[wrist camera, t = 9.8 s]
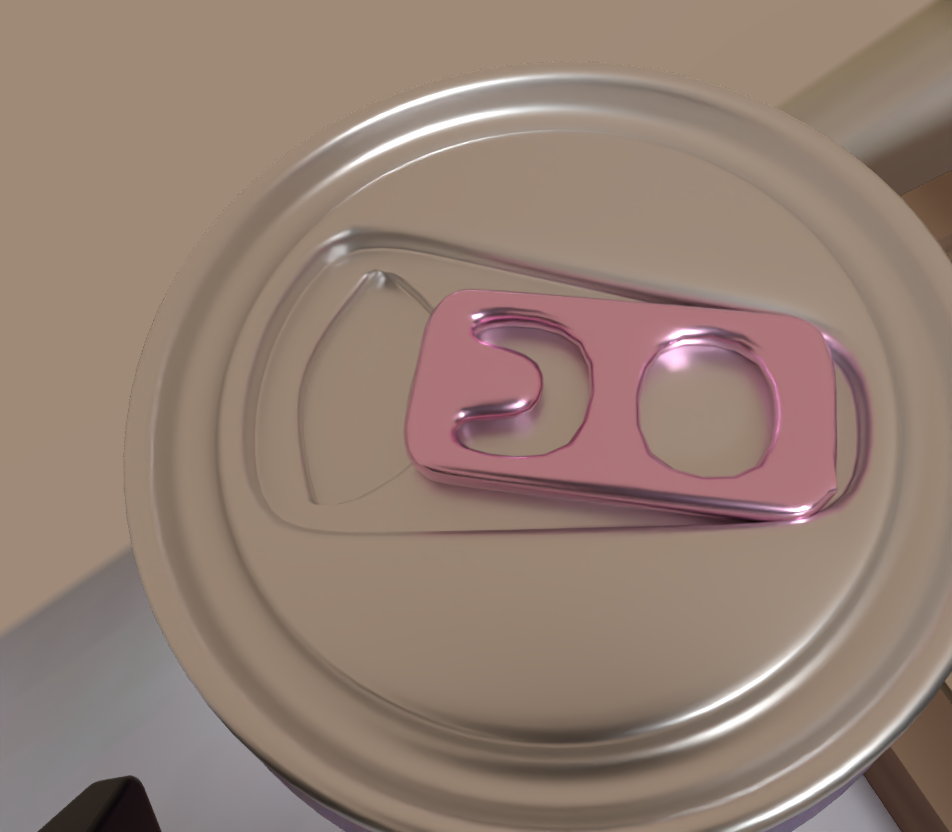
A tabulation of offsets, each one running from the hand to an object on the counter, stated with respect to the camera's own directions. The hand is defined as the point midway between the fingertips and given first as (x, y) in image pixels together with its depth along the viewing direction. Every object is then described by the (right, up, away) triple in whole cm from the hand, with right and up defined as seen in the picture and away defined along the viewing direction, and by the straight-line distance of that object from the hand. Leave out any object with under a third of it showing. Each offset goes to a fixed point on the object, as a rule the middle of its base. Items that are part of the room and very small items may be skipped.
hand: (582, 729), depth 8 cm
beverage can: (+1, -3, +11) cm, 11 cm away
